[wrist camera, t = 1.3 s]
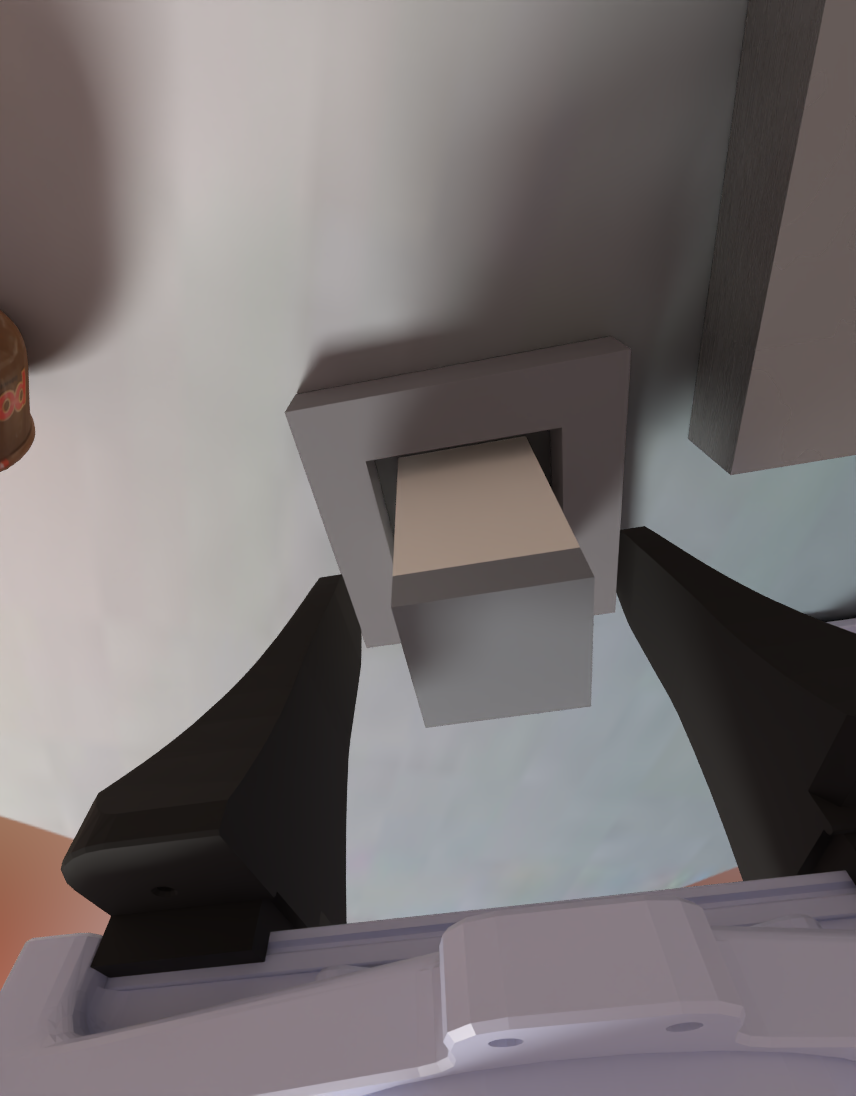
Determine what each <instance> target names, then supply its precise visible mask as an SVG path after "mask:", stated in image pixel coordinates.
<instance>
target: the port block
mask: <svg viewBox="0 0 856 1096" xmlns="http://www.w3.org/2000/svg"><path fill="white" fill-rule="evenodd" d="M688 439H689V440H690V441H691V442H692V443H693V444H695V445H696V446H697V447H698V448H699V449H701V450H702V451H703V452H704V453H705V454H706V455H708V456H709V457H710V458H711V459H712V460H713V461H715V462H716V463H717V464H718V465H719V466H721V467H722V468H723V469H724V470H725V471H726V472H728V473H729V474H730V475H734V474H740V473H746V472H752V471H758V470H764V469H771V468H777V467H783V466H789V465H795V464H802V463H808V462H814V461H820V460H826V459H833V458H839V457H845V456H851V455H856V0H749V3H748V10H747V18H746V25H745V32H744V39H743V46H742V54H741V61H740V68H739V75H738V82H737V89H736V97H735V104H734V111H733V118H732V125H731V133H730V140H729V147H728V154H727V161H726V169H725V176H724V183H723V190H722V197H721V205H720V212H719V219H718V226H717V233H716V241H715V248H714V255H713V262H712V269H711V277H710V284H709V291H708V298H707V305H706V312H705V320H704V327H703V334H702V341H701V348H700V356H699V363H698V370H697V377H696V384H695V392H694V399H693V406H692V413H691V420H690V428H689V435H688Z"/></svg>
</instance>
